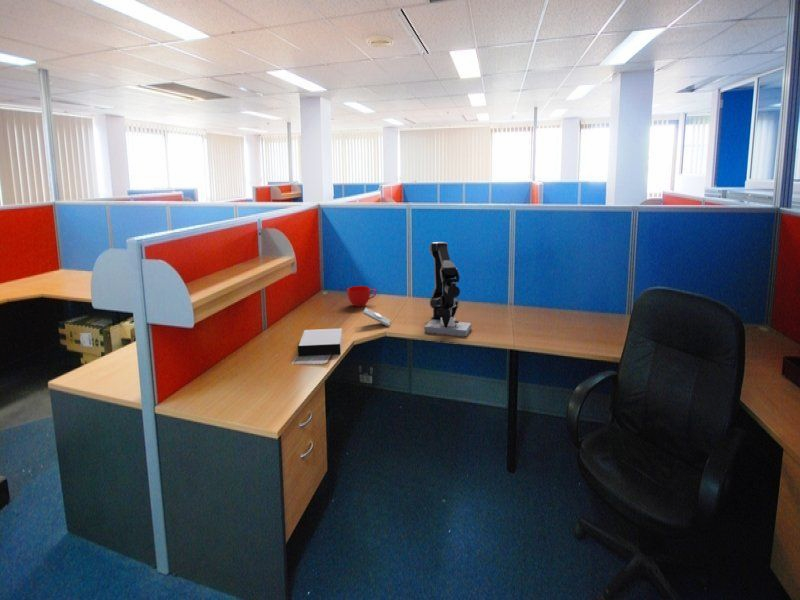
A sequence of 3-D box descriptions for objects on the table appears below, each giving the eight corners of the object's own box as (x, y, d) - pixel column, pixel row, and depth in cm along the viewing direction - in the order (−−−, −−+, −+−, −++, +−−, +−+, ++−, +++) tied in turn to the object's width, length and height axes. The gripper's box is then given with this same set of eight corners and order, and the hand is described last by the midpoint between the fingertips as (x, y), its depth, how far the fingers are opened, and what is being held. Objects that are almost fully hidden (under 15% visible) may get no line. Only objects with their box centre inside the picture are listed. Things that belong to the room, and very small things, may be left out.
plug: (442, 327, 232) (442, 316, 231) (459, 329, 230) (459, 317, 228) (440, 330, 229) (440, 318, 228) (457, 331, 226) (457, 319, 225)
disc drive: (298, 357, 201) (297, 346, 199) (304, 339, 222) (304, 329, 221) (340, 355, 202) (340, 344, 200) (342, 338, 223) (342, 327, 222)
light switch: (390, 323, 237) (364, 310, 235) (385, 333, 238) (359, 320, 237) (391, 318, 245) (366, 305, 244) (386, 328, 246) (361, 315, 245)
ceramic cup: (379, 306, 274) (379, 289, 271) (350, 309, 269) (349, 292, 267) (374, 301, 286) (373, 284, 283) (346, 303, 281) (345, 287, 279)
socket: (431, 325, 239) (431, 318, 238) (471, 328, 232) (471, 322, 231) (424, 332, 228) (424, 325, 227) (465, 336, 221) (466, 329, 220)
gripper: (437, 287, 236) (437, 317, 240) (426, 296, 219) (426, 328, 223) (459, 288, 232) (459, 319, 236) (450, 297, 215) (449, 330, 219)
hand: (448, 324), depth 229 cm, fingers open, 9 cm apart
